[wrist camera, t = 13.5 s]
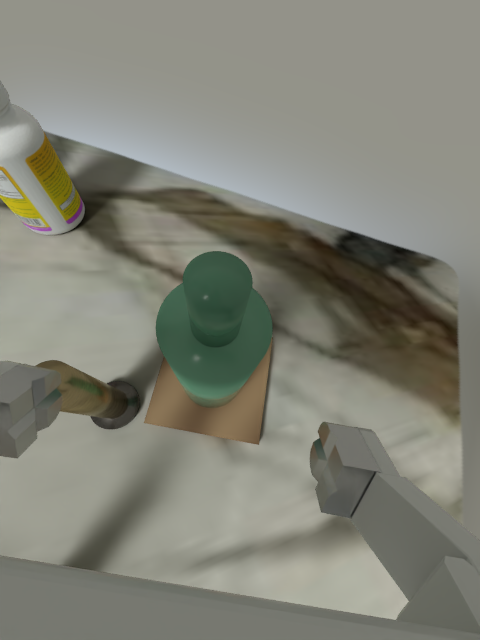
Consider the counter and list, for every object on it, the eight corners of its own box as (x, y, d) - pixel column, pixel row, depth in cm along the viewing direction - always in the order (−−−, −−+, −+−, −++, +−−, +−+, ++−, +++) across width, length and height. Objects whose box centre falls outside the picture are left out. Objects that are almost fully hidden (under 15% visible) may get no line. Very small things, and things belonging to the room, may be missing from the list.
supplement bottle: (78, 188, 33) (5, 52, 21) (94, 227, 31) (23, 100, 19) (18, 203, 31) (-98, 63, 19) (31, 245, 29) (-90, 117, 17)
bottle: (175, 401, 23) (107, 339, 8) (190, 342, 26) (161, 204, 10) (236, 413, 24) (290, 374, 8) (246, 353, 26) (302, 233, 10)
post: (84, 424, 23) (-14, 416, 13) (102, 378, 24) (27, 339, 14) (130, 433, 23) (69, 432, 13) (145, 386, 24) (101, 353, 14)
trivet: (145, 423, 23) (143, 422, 22) (176, 320, 27) (175, 317, 27) (257, 444, 24) (258, 444, 23) (270, 340, 28) (272, 337, 27)
